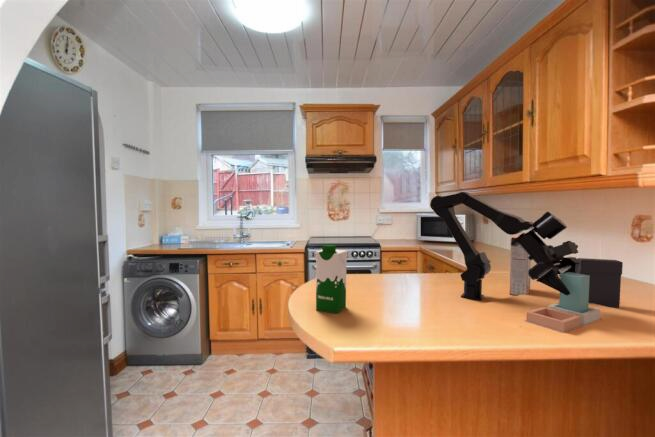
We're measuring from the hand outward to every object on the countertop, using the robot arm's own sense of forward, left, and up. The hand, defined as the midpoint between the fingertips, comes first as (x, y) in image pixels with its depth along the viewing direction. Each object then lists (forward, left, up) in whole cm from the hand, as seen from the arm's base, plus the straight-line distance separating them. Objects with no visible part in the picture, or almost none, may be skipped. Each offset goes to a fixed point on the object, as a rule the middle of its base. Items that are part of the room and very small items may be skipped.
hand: (576, 292), depth 91 cm
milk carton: (+33, -62, -8) cm, 70 cm away
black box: (-22, +6, -8) cm, 25 cm away
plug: (0, -1, -7) cm, 7 cm away
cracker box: (-25, -16, -8) cm, 31 cm away
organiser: (+5, -3, -8) cm, 10 cm away
